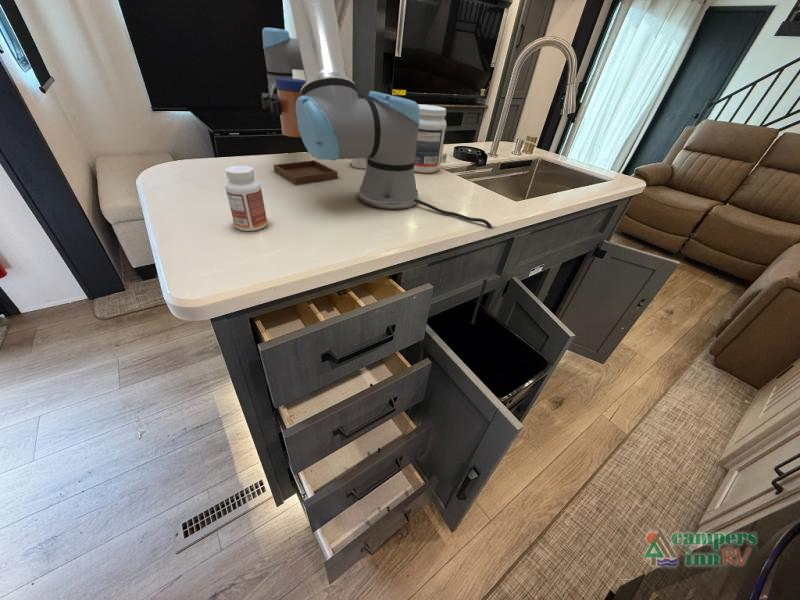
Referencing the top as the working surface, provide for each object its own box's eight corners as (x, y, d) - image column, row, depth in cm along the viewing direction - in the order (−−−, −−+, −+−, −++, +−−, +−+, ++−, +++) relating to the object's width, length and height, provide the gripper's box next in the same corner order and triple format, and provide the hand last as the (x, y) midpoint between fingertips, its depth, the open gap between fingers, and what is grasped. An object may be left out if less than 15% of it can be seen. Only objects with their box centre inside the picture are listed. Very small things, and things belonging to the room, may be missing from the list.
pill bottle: (265, 217, 69) (256, 163, 62) (269, 230, 64) (259, 173, 58) (234, 220, 67) (220, 164, 60) (235, 233, 62) (221, 174, 55)
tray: (337, 178, 94) (337, 171, 93) (296, 184, 87) (295, 177, 86) (314, 166, 102) (314, 160, 101) (274, 171, 94) (273, 164, 93)
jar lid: (313, 91, 80) (312, 82, 79) (285, 90, 75) (283, 81, 74) (298, 87, 84) (297, 78, 83) (270, 86, 80) (269, 77, 78)
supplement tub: (411, 161, 117) (417, 102, 106) (444, 168, 113) (454, 108, 102) (396, 168, 108) (400, 105, 96) (431, 176, 104) (440, 111, 93)
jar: (315, 136, 86) (312, 84, 79) (290, 137, 82) (284, 83, 75) (302, 130, 90) (297, 80, 83) (277, 132, 86) (270, 79, 79)
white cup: (376, 165, 109) (378, 132, 103) (369, 170, 103) (369, 136, 97) (355, 161, 111) (355, 129, 105) (346, 166, 104) (345, 132, 98)
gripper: (320, 112, 101) (337, 127, 84) (251, 109, 94) (254, 125, 77) (319, 83, 96) (336, 93, 80) (245, 78, 89) (248, 88, 73)
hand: (296, 109), depth 78 cm, fingers closed on jar, 7 cm apart
